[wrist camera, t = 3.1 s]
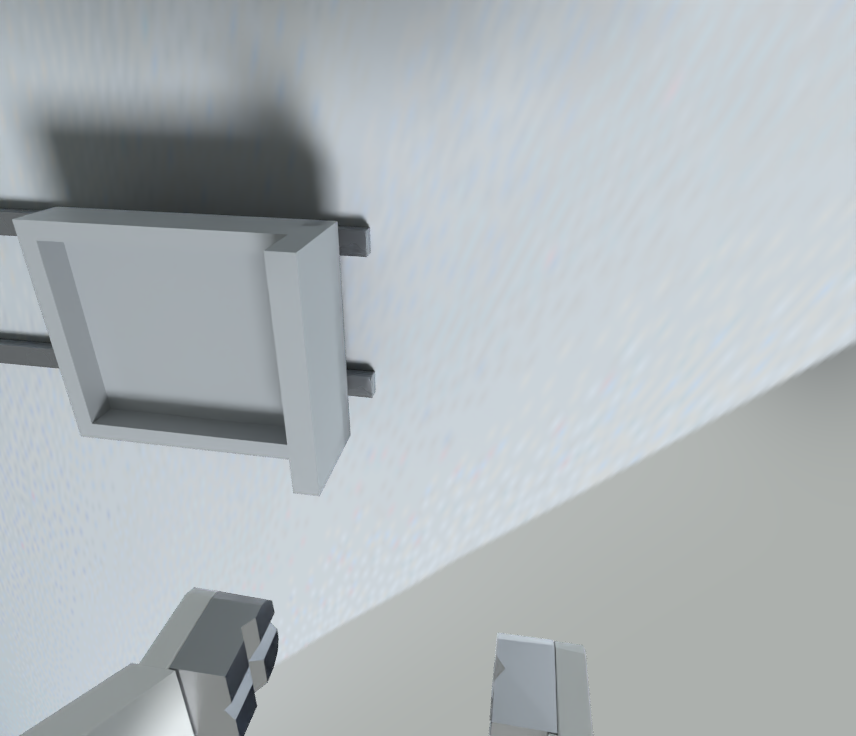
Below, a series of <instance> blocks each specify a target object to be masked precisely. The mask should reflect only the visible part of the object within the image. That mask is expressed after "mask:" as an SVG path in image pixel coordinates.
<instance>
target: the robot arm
mask: <svg viewBox="0 0 856 736" xmlns="http://www.w3.org/2000/svg"><path fill="white" fill-rule="evenodd" d="M274 613H275V612H274V607H273V603H272V600H266V599H260V598H255V597H249V596H243V595H237V594H232V593H226V592H221V591H214V590H208V589H202V588H195V587H194V588H193V589H192V590H190V591H189V592H188V593H187V594H186V595H185V596H184V598H183V599H182V601H181V602H180V604H179V605H178V607H177V608H176V609H175V611H174V612H173V614H172V615H171V617H170V618H169V620H168V621H167V623H166V624H165V626H164V627H163V629H162V630H161V632H160V633H159V635H158V636H157V638H156V639H155V641H154V642H153V644H152V645H151V647H150V648H149V650H148V651H147V653H146V654H145V656H144V657H143V659H142V660H141V662H140V663H139V664H136V663H131V664H129V665H128V666H126V667H124V668H123V669H121V670H120V671H118V672H117V673H115V674H114V675H112V676H111V677H109V678H107V679H106V680H104V681H103V682H101V683H100V684H98V685H97V686H95V687H94V688H92V689H91V690H89V691H87V692H86V693H84V694H83V695H81V696H80V697H78V698H77V699H75V700H74V701H72V702H70V703H69V704H67V705H66V706H64V707H63V708H61V709H60V710H58V711H57V712H55V713H54V714H52V715H50V716H49V717H47V718H46V719H44V720H43V721H41V722H40V723H38V724H37V725H35V726H34V727H32V728H30V729H29V730H27V731H26V732H24V733H23V734H21V735H20V736H244V735H245V732H246V730H247V728H248V726H249V723H250V721H251V719H252V717H253V715H254V712H255V710H256V708H257V703H256V697H255V692H256V691H257V690H259V689H260V688H261V687H263V686H264V685H265V684H266V683H268V680H269V678H270V675H271V673H272V670H273V668H274V665H275V661H276V657H277V652H278V641H279V638H278V631H277V628H276V627H275V626H274V625H273V624H272V623H271V620H272V617H273V615H274ZM489 736H593V725H592V714H591V704H590V692H589V681H588V670H587V658H586V650H585V648H584V646H583V645H580V644H572V643H565V642H558V641H554V642H553V640H550V639H542V638H534V637H526V636H519V635H512V634H504V633H497V641H496V651H495V663H494V673H493V684H492V695H491V709H490V727H489Z"/></svg>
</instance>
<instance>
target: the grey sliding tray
mask: <svg viewBox="0 0 856 736" xmlns="http://www.w3.org/2000/svg"><path fill="white" fill-rule="evenodd" d="M12 221H13V224H14V227H15V231H16V234H17V237H18V240H19V243H20V246H21V249H22V253H23V256H24V259H25V262H26V265H27V268H28V271H29V275H30V278H31V281H32V284H33V287H34V290H35V293H36V297H37V300H38V303H39V306H40V309H41V312H42V315H43V318H44V322H45V325H46V328H47V331H48V334H49V337H50V340H51V344H52V347H53V350H54V353H55V356H56V359H57V362H58V366H59V369H60V372H61V375H62V378H63V381H64V384H65V388H66V391H67V394H68V397H69V400H70V403H71V406H72V410H73V413H74V416H75V419H76V422H77V425H78V428H79V432H80V435H81V436H83V437H91V438H100V439H109V440H118V441H127V442H136V443H145V444H154V445H163V446H172V447H181V448H190V449H199V450H208V451H217V452H226V453H235V454H244V455H253V456H262V457H271V458H280V459H289V463H290V471H291V479H292V487H293V493H297V494H305V495H313V496H320V494H321V492H322V490H323V488H324V486H325V484H326V482H327V480H328V478H329V476H330V474H331V473H332V471H333V469H334V467H335V465H336V463H337V461H338V459H339V457H340V455H341V453H342V451H343V449H344V447H345V445H346V443H347V441H348V439H349V437H350V420H349V403H348V387H347V370H346V354H345V337H344V321H343V304H342V288H341V271H340V255H339V238H338V222H337V221H328V220H308V219H289V218H269V217H249V216H230V215H210V214H191V213H171V212H152V211H132V210H113V209H93V208H73V207H53V208H49V209H46V210H43V211H39V212H36V213H32V214H29V215H25V216H22V217H18V218H15V219H12Z"/></svg>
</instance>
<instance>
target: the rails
mask: <svg viewBox="0 0 856 736" xmlns="http://www.w3.org/2000/svg"><path fill="white" fill-rule="evenodd" d="M39 211H42V210H22V209H3V208H0V235H8V236H17V234H16V231H15V227H14V224H13V221H12V219H15V218H18V217H22V216H25V215H29V214H32V213H36V212H39ZM338 238H339V255H344V256H361V257H367V256H368V255H369V254H370V228H366V227H347V226H338ZM0 363H8V364H18V365H29V366H39V367H50V368H59V366H58V362H57V359H56V356H55V353H54V350H53V347H52V344H51V343H42V342H31V341H19V340H8V339H0ZM346 370H347V387H348V396H358V397H369V398H372V397H373V395H374V393H375V372H373V371H362V370H350V369H346Z"/></svg>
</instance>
